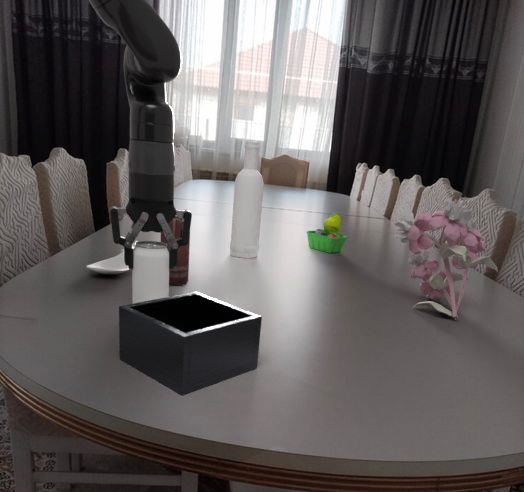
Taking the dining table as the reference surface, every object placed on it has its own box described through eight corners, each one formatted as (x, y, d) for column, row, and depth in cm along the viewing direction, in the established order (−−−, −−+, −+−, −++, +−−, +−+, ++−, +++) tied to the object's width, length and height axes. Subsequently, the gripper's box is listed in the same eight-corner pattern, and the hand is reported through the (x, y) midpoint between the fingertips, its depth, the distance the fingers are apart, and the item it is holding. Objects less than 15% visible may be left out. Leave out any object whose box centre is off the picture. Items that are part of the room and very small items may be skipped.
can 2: (160, 286, 110) (161, 219, 105) (159, 278, 116) (160, 214, 110) (189, 287, 111) (191, 221, 106) (186, 279, 117) (189, 216, 112)
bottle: (247, 259, 141) (257, 141, 130) (224, 254, 144) (231, 138, 133) (263, 255, 147) (273, 142, 136) (240, 250, 151) (248, 140, 140)
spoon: (163, 253, 139) (164, 240, 138) (120, 282, 110) (120, 266, 108) (131, 249, 140) (131, 236, 139) (79, 277, 110) (78, 261, 109)
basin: (181, 395, 66) (184, 337, 63) (119, 359, 74) (118, 306, 71) (257, 368, 76) (262, 316, 73) (194, 338, 84) (196, 291, 81)
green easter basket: (303, 247, 165) (307, 210, 161) (321, 245, 171) (326, 210, 166) (330, 254, 157) (335, 216, 153) (348, 252, 163) (354, 216, 159)
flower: (523, 311, 111) (505, 197, 111) (481, 319, 95) (460, 185, 95) (436, 325, 126) (420, 223, 126) (387, 333, 110) (368, 217, 110)
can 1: (168, 304, 99) (169, 241, 95) (168, 315, 93) (169, 249, 89) (133, 302, 98) (133, 239, 93) (131, 314, 92) (131, 246, 88)
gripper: (190, 171, 92) (187, 263, 98) (105, 165, 88) (108, 262, 94) (198, 175, 85) (194, 274, 92) (107, 169, 81) (109, 273, 87)
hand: (150, 267), depth 93 cm, fingers closed on can 1, 6 cm apart
